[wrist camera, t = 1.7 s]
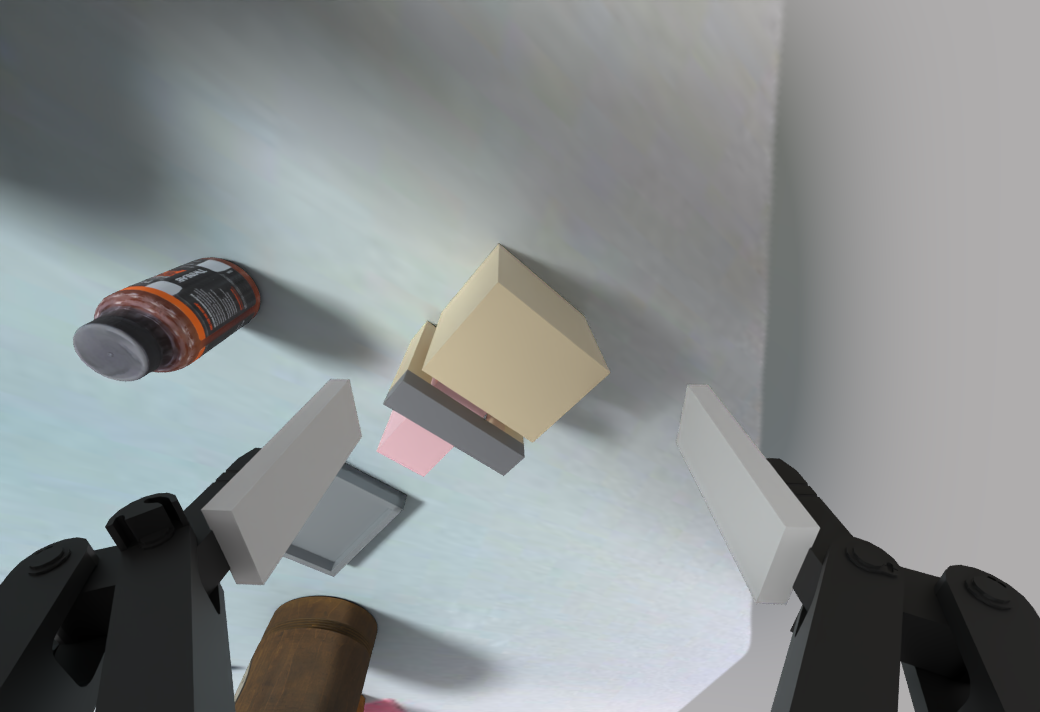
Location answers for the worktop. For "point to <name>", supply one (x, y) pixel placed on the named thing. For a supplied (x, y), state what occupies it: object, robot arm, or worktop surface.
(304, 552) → the tray
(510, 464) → the dispenser
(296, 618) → the wooden container
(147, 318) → the supplement bottle
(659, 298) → the worktop surface
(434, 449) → the pink rectangular block
